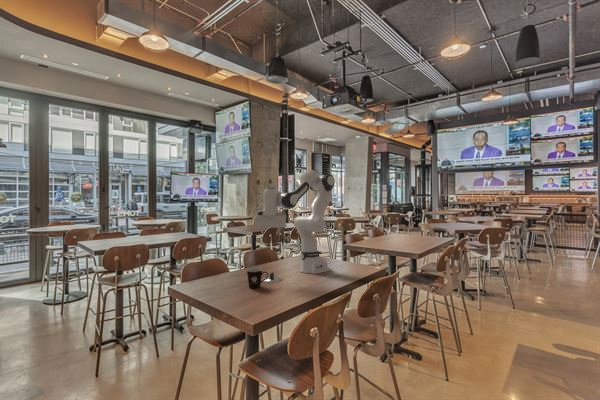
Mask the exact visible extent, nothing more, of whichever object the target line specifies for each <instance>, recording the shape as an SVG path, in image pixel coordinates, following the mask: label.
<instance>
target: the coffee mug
mask: <svg viewBox="0 0 600 400" xmlns="http://www.w3.org/2000/svg"><path fill="white" fill-rule="evenodd" d="M246 273H247V275H246V276H247V282H248V288H249V289H251V290H256V289H259V288H260V289H261V283H262V282H264V280H265V279H266V278H267V277H269V272H267V271H263V270H262V268H257V267H256V268H255V267H253V268H248V269H246ZM263 274H267V276H266V277H264V278H265V279H264V280H262V276H263Z"/></svg>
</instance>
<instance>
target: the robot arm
mask: <svg viewBox="0 0 600 400" xmlns="http://www.w3.org/2000/svg"><path fill="white" fill-rule="evenodd" d="M294 184H295V187H296V189H295V190H293V191H291V192H282V191H279V189H277V187H267V188H265V189H264V191H263V197H262V199H263V200H262V201H263V202H262V203H263V207H262V209H263V210H259V211H257V212H256V213H255V214H256V216H255V217H254V219H253V220H254V222H253V227H255V228H259V230H260V232H261V235H264V234H265V231H264V230H263V228H277V229H278V230H276V232H275V235H279V234H280V231H281V228H286V225H287V223H286V220H287V214H286V213H285V212H278V208H285V209H293V208H295V207H296V206H297V204H298V202H299V200H301V198H302V197H303V196H304V195H306V193H308V192H309V190H311V191H313V192H317V194H316V196H315V197H314V199H313V201H312V202H311V204H310V206H309V209H310V212H311V213H310V215H304V214H303V215H299V216H298V215H297V216H296V217H295V218H294V220H293V226H294V228H295V229H296V230H297V232H298V234H299V237H300V240H301V242H300V243H301V244H300V245H301V250H300V259H301V261H300V267H299V270H298V271H299V272H300V273H303V274H314V275H315V274H321V273H326V272H331V271H332V269H331V268H330V267H328V262H327V260H326V259H324V258H323V257H321V256H320V255H322V254H323V251H320V250H318V239H317V238H316V237H315V236H314V234H313V233H317V232H319V233H320V232H323V231H324V230H325V228H326V220H325V219H324V214H325V212H326V211H327V209H328V207H329V204H330V202H331V199H332V192H331V191H332V190H333V188H334V186H335V178H334V176H333V175H332V174H328V173H326V174H321V175H318V173H317V171H315V170H313V169H310V170H307V171H306V172H303V173H302V174H300V175H299V176H298V177H297V178H296V179H295V181H294Z"/></svg>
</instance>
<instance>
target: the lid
mask: <svg viewBox="0 0 600 400" xmlns="http://www.w3.org/2000/svg"><path fill="white" fill-rule="evenodd" d="M266 277H267V276H266ZM266 277H264V278H261V281H262V280H264V279H265V278H266ZM281 281H282V278H281V277H279V276H275V272H273V271H271V272H269V276H268V277H267V278H266V279H265V280H264V281H263V282H264V283H268V284H269V283H270V284H271V283H272V284H273V283H279V282H281Z"/></svg>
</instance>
